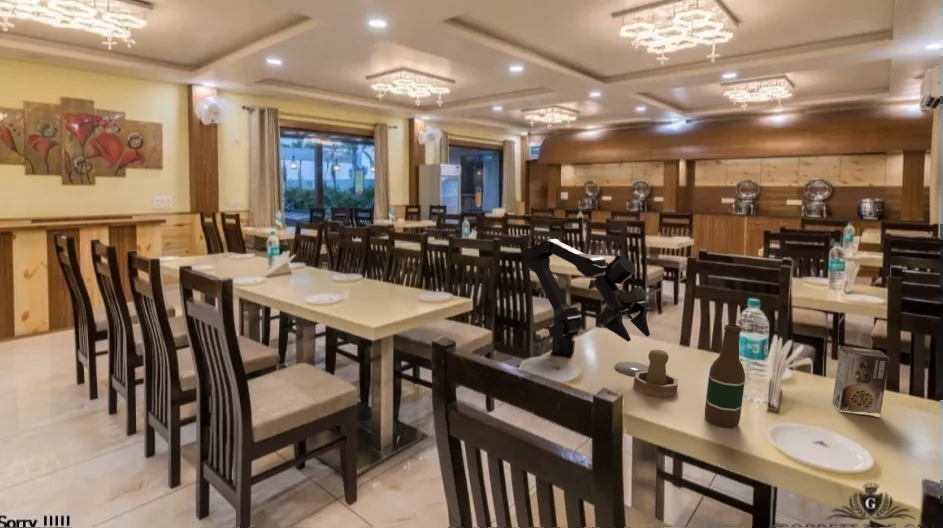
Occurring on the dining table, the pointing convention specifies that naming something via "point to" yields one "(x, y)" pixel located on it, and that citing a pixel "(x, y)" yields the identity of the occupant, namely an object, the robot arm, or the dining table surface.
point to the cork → (657, 367)
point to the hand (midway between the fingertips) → (639, 338)
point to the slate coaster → (630, 367)
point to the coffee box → (860, 380)
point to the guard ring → (655, 386)
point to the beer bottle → (726, 382)
